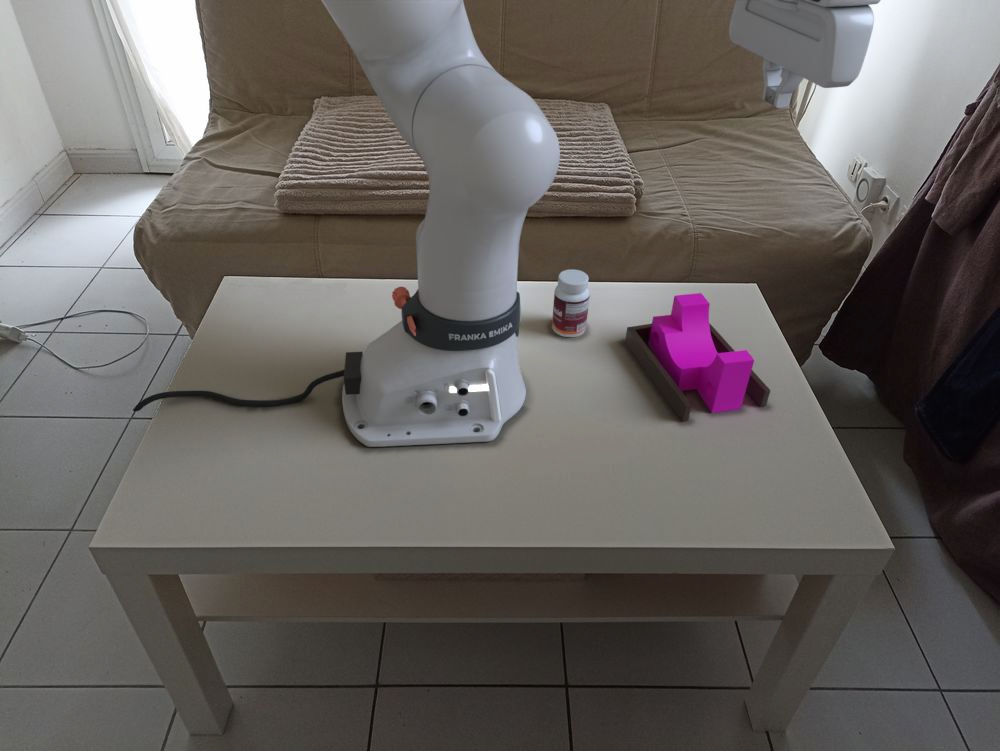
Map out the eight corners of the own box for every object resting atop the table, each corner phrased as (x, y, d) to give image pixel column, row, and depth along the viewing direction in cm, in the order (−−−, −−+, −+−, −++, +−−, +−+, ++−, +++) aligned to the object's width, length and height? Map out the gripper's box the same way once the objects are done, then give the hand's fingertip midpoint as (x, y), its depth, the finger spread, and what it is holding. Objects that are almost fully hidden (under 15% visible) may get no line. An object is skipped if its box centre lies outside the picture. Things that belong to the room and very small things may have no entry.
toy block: (648, 344, 102) (656, 297, 98) (691, 339, 103) (701, 292, 99) (692, 415, 91) (704, 365, 86) (740, 409, 92) (754, 360, 87)
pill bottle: (548, 320, 106) (552, 268, 101) (581, 318, 107) (586, 266, 102) (555, 339, 103) (560, 287, 98) (589, 337, 103) (595, 284, 98)
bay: (682, 422, 90) (686, 405, 88) (624, 342, 103) (627, 327, 101) (766, 406, 92) (771, 390, 91) (699, 330, 105) (702, 315, 104)
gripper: (729, -46, 85) (706, 79, 94) (841, -9, 70) (802, 137, 79) (777, -48, 87) (750, 76, 95) (898, -12, 72) (853, 132, 80)
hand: (774, 104), depth 87 cm, fingers closed
